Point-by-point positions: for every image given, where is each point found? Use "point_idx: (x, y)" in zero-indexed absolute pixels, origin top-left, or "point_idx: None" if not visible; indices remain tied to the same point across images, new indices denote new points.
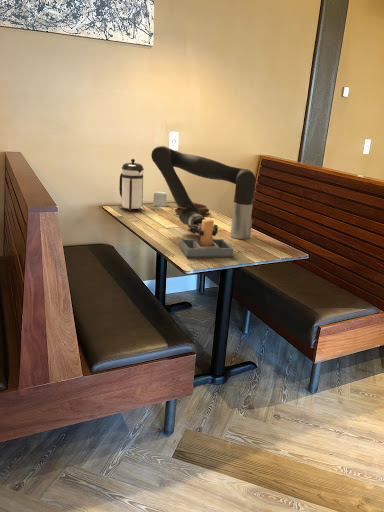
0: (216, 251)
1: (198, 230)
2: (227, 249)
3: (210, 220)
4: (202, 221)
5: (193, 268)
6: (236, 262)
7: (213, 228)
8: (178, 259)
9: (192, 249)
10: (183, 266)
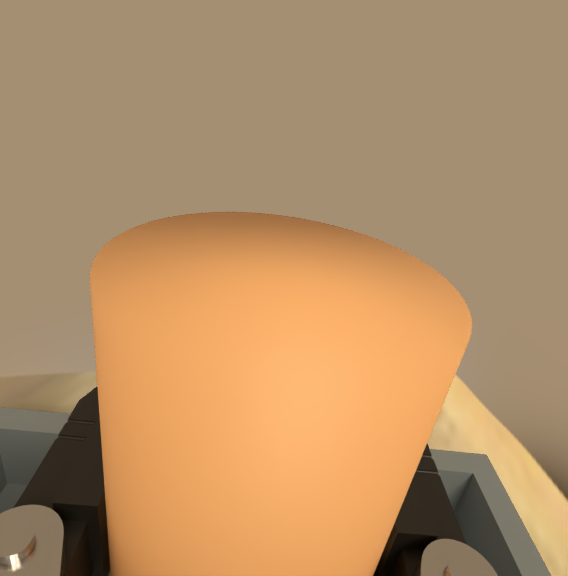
0: None
1: (452, 511)
2: (52, 418)
3: (180, 276)
4: (444, 292)
5: None
6: (69, 384)
7: (18, 526)
8: (524, 507)
9: (436, 450)
10: (457, 391)
